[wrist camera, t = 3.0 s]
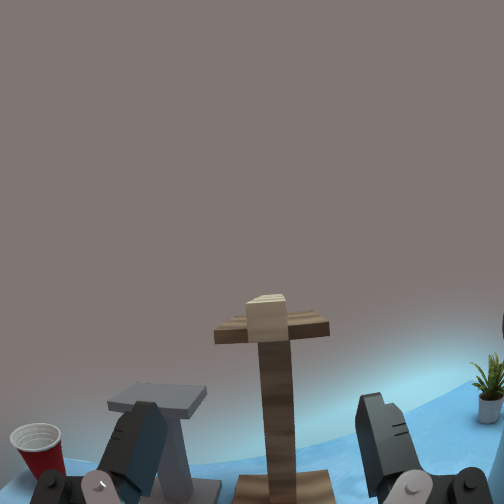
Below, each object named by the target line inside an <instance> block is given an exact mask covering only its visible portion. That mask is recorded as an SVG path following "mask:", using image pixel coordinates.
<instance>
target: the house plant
mask: <svg viewBox="0 0 504 504" xmlns="http://www.w3.org/2000/svg"><path fill="white" fill-rule="evenodd" d="M495 357H496V364H495V361H494V362H493V360H494V358H493V360H492V357H491V356H490V355H489V375H488V381H487V379H486V377H485V375H484V373H483V371H482V370H481V369H480V367H479V366H477V365H476V364H474V363H472V364H474V365H475V366H476V367H477V368H478V369H479V371H480V372H481V374H482V376H483V378H484V380H485V382H486V384H487V386H488V388H487V387H486V385H485V384H484V382H483V381H482V380H481V379H480V378H479V377H478V376H477V378H478V381H479V383H480V384H481V385H482V386H481V385H480V384H478V383H473V384H471V385H474V386H476V387H478V388H479V389H478V390H480V389H481V390H482V393H481V394H480V395H479V422H481V423H484V424H490V423H493V422H495V421H497V419H498V416H499V413H500V411H501V408H502V405H503V401H504V390H503V389H504V386H503V387H501V385H502V384H503V383H504V380H503V381H502V382H501V383H500V381H501V379H502V378H503V376H504V373H503V375H502V372H503V370H504V361H503V363H502V364H500V365H499V361H498V357H497V355H496V353H495ZM499 383H500V384H499ZM498 385H499V386H498ZM484 390H485V391H484Z"/></svg>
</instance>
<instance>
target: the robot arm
mask: <svg viewBox="0 0 504 504" xmlns="http://www.w3.org/2000/svg"><path fill="white" fill-rule="evenodd" d="M502 331H503V338H504V315H503V326H502ZM355 427H356V433H357V438H358V442H359V447H360V452H361V457H362V462H363V467H364V472H365V477H366V483H367V488H368V494H369V498H371V497H376V496H377V498H378V504H504V427H503V432H502V436H501V440H500V443H499V447H498V450H497V454H496V457H495V460H494V463H493V466H492V469H491V472H490V475H489V478H488V481H487V479H486V476H485V474H484V472H483V471H482V470H480V469H479V468H476V467H468V468H465V469H463V470H462V471H460V472H459V473H458V474H456V475H440V476H438V475H432V474H429V473H427V472H426V471H424V470H423V468H422V467H421V466H420V463H419V460H418V457H417V454H416V451H415V448H414V445H413V442H412V439H411V436H410V433H409V430H408V427H407V425H406V422H405V419H404V416H403V413H402V411H401V410H400V409H399V408H398V407H397V406H396V405H395V404H394V403H390V404H384V401H383V398H382V395H381V393H380V392H378V393H372V394H367V395H361V396H360V400H359V405H358V409H357V414H356V417H355ZM167 433H168V427H167V423H166V421H165V419H164V417H163V415H162V413H161V412H160V410H159V408H158V406H157V404H156V403H155V402H148V401H136V402H135V404H134V406H133V409H132V411H131V412H130V411H126V412H125V413H124V414H123V415H122V416H121V417H120V418H119V419H118V421H117V424H116V426H115V428H114V431H113V433H112V435H111V439H110V440H109V442H108V444H107V447H106V449H105V452H104V454H103V457H102V459H101V461H100V464H99V466H98V468H97V469H96V470H93V471H90V472H88V473H87V474H86V475H85V476H64V475H63V474H62V473H61V472H59V471H58V470H55V469H49V470H46V471H45V472H43V473H42V475H41V476H40V478H39V481H38V483H37V486H36V488H35V491H34V493H33V496H32V499H31V501H30V504H140V503H139V499H140V496H144V497H149V498H150V495H151V491H152V487H153V484H154V480H155V476H156V473H157V469H158V466H159V462H160V459H161V455H162V452H163V448H164V445H165V441H166V438H167Z"/></svg>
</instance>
